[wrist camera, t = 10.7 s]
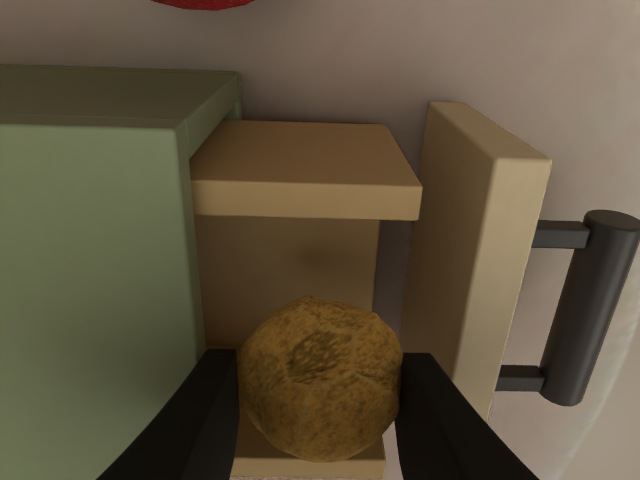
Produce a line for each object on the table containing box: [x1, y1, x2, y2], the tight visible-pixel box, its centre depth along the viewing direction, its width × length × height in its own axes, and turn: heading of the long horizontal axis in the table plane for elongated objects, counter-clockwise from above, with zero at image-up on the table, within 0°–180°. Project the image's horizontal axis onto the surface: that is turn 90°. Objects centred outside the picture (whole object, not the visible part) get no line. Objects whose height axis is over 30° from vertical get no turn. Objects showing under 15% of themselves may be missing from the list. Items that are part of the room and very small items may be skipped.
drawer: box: [189, 102, 640, 479], centre depth 14 cm, size 16×10×6 cm, turn 88°
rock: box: [237, 295, 403, 463], centre depth 11 cm, size 4×4×3 cm
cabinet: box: [0, 64, 243, 480], centre depth 14 cm, size 14×12×8 cm
